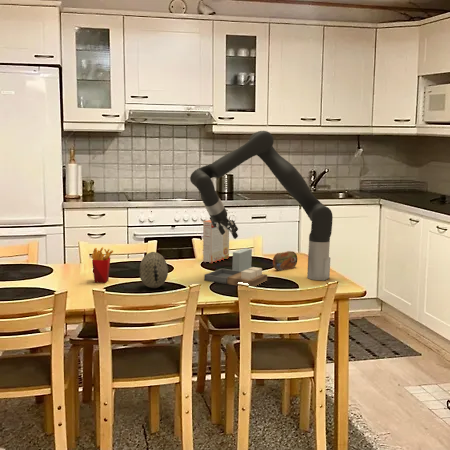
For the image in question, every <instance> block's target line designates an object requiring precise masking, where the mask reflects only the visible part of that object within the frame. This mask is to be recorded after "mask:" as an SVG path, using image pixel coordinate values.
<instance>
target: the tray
mask: <svg viewBox="0 0 450 450" xmlns="http://www.w3.org/2000/svg"><path fill="white" fill-rule="evenodd" d="M239 272H241V271H236V270H232V269H227V268H222V267H221V268H219V269H216V270H214V271H211V272H208V273H205V274H204V275H203V276H204V277H203V278H204V281H205V282H209V283H210V282H211V283H216V284H224V285H228V284H227V277H229V276H232V275H234V274H237V273H239Z"/></svg>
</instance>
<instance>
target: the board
mask: <svg viewBox="0 0 450 450" xmlns="http://www.w3.org/2000/svg"><path fill="white" fill-rule="evenodd" d="M265 281H267V282H268V274H265V273H262V275H261V276H258V277H256V278H254V279H251V280H249V279H242V278H241V272H239V273H237V274H234V275H232V276H229V277H227V284H226V285H230V286H237V283H238V282H243V283H248V284H250V286H256V287H258V286H260V285H262V284H261V283H263V282H265ZM265 283H266V282H265ZM259 284H260V285H259ZM263 284H264V283H263ZM257 285H258V286H257ZM237 287H238V286H237Z"/></svg>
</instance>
